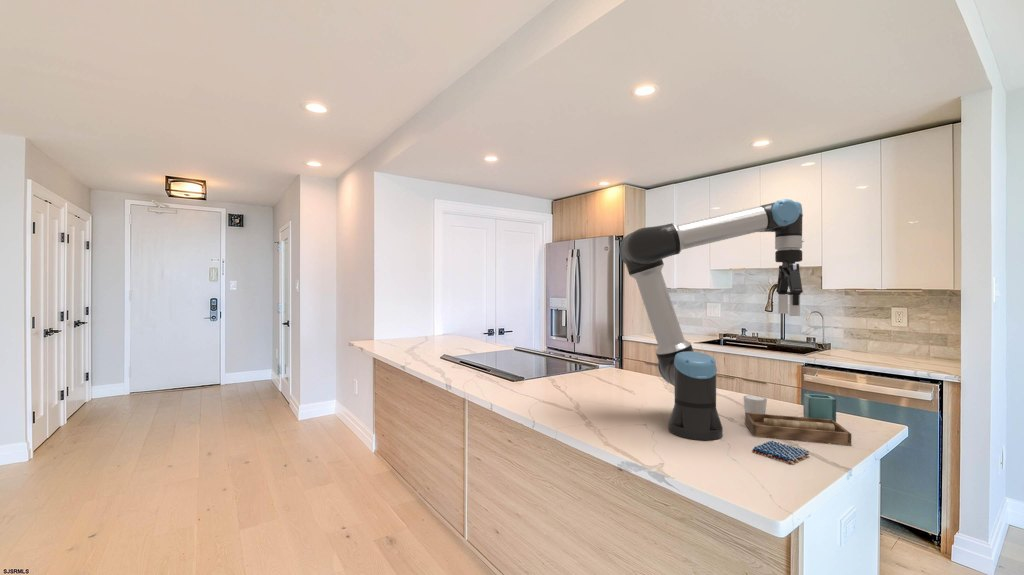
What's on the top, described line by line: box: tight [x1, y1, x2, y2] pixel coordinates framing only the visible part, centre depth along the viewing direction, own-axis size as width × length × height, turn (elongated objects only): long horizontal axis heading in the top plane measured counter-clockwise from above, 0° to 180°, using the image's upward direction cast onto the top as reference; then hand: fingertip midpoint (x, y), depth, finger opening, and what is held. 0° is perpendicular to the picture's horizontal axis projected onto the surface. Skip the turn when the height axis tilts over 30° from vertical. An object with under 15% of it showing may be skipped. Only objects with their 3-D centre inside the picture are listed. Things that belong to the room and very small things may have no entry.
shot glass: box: [742, 395, 768, 414], centre depth 146 cm, size 7×7×7 cm
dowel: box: [764, 418, 835, 432], centre depth 133 cm, size 7×3×18 cm
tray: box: [744, 412, 852, 447], centre depth 131 cm, size 24×14×3 cm, turn 71°
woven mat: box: [751, 440, 811, 466], centre depth 115 cm, size 10×11×2 cm
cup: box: [803, 393, 837, 422], centre depth 140 cm, size 7×6×9 cm
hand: (788, 314), depth 144 cm, fingers open, 13 cm apart
